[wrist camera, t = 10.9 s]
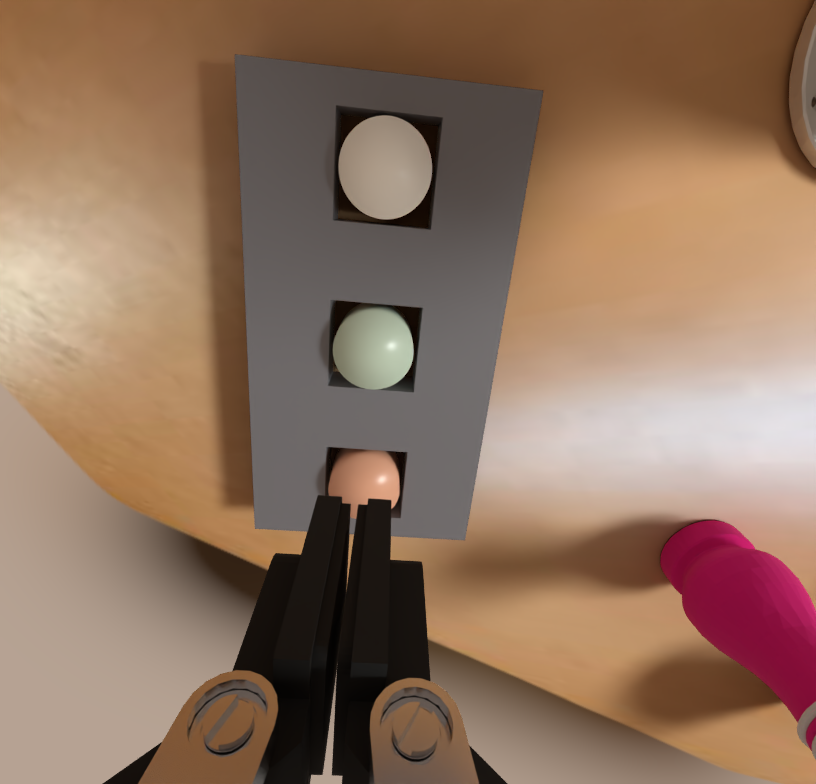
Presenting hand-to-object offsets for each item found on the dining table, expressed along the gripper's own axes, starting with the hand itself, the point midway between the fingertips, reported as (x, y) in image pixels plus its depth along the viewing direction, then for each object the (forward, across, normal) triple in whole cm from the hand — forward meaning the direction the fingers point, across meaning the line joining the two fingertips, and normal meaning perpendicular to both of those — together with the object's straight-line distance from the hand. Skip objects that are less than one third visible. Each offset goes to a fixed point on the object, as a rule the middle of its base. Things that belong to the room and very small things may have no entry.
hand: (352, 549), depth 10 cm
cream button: (+19, 0, -9) cm, 20 cm away
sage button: (+18, 0, 0) cm, 18 cm away
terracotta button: (+18, 0, +9) cm, 21 cm away
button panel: (+19, 0, 0) cm, 19 cm away
